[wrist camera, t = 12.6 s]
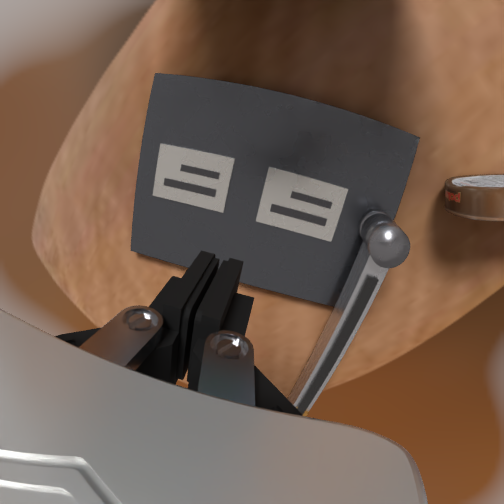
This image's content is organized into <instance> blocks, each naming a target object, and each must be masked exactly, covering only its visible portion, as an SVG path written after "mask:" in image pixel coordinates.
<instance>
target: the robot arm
mask: <svg viewBox="0 0 504 504" xmlns="http://www.w3.org/2000/svg"><path fill="white" fill-rule="evenodd" d="M219 261H220V259H218V258H215V254H213V253H209V252H205V251H201V252H200V253H199V254H198V256H197V257H196V259H195V260H194V261H193V263H192V264H191V266H190V267H189V268H188V270H187V271H186V273H185V274H184V275H183V277H182V278H178V277H175V276H172V277H171V278H170V280H169V281H168V282H167V284H166V285H165V286H164V288H163V289H162V290H161V292H160V293H159V294H158V295H157V297H156V298H155V299H154V301H153V302H152V303H151V305H150V306H149V307H147V306H140V305H139V306H131V307H128V308H125V309H124V310H122V311H121V312H120V313H118V314H117V315H116V316H115V317H114V318H113V319H111V320H110V321H109V322H108V323H107V324H105V325H104V326H103V327H102V328H96V329H91V330H86V331H79V332H74V333H67V334H62V335H58V336H52V335H51V334H49V333H47V332H45V331H42V330H40V329H39V328H37V327H34V326H33V325H30V324H29V323H27V322H25V321H23V320H21V319H19V318H17V317H15V316H13V315H11V314H9V313H7V312H5V311H4V310H2V309H0V504H428V502H427V497H426V493H425V489H424V485H423V481H422V478H421V476H420V473H419V470H418V467H417V465H416V463H415V461H414V459H413V458H412V456H411V455H410V454H409V453H408V451H406V450H405V449H404V448H403V447H402V446H401V445H399V444H397V443H396V442H394V441H392V440H390V439H389V438H386V437H384V436H381V435H379V434H377V433H374V432H372V431H368V430H365V429H362V428H359V427H355V426H351V425H346V424H342V423H337V422H332V421H326V420H320V419H315V418H310V417H305V416H302V414H301V413H300V412H299V410H298V409H297V408H296V407H295V406H294V405H293V404H292V403H291V402H290V401H289V400H288V399H287V398H286V397H285V396H284V395H283V394H282V393H281V392H280V391H279V390H278V389H277V388H276V387H275V386H274V385H273V384H272V383H271V382H270V381H269V380H268V379H267V378H266V377H265V376H264V375H263V374H262V373H261V372H260V371H259V369H258V368H257V367H256V366H255V365H254V349H253V345H252V343H251V342H250V340H249V339H247V338H246V337H245V333H246V329H247V325H248V321H249V317H250V313H251V309H252V305H253V301H254V297H250V296H246V295H242V294H238V293H237V289H238V285H239V280H240V276H241V271H242V267H243V261H241V260H237V259H233V258H229V260H228V261H226V260H223V262H222V264H221V265H220V267H219ZM218 267H219V269H218ZM187 370H188V375H187V381H188V382H189V384H188V388H184V387H182V386H178V385H175V384H176V382H177V380H178V379H181V380H183V379H184V377H185V374H186V372H187Z"/></svg>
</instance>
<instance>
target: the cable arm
mask: <svg viewBox="0 0 504 504" xmlns="http://www.w3.org/2000/svg"><path fill="white" fill-rule="evenodd" d="M361 237H362V239H363V243H362V245H361V247H360V250H359V252H358V255H357V257H356V260H355V262H354V264H353V267H352V269H351V271H350V274H349V276H348V278H347V280H346V283H345V285H344V287H343V289H342V292H341V294H340V296H339V298H338V300H337V303H336V305H335V307H334V309H333V311H332V313H331V315H330V318H329V320H328V322H327V324H326V326H325V328H324V330H323V332H322V334H321V336H320V338H319V340H318V342H317V344H316V346H315V348H314V350H313V352H312V354H311V356H310V358H309V360H308V362H307V364H306V366H305V367H304V369H303V371H302V373H301V375H300V377H299V379H298V380H297V382H296V384H295V386H294V388H293V390H292V391H291V393H290V395H289V397H288V400H289V401H290V402H291V403H292V404H293V405H294V406H295V407H296V408H297V409H298V410H299V412H300V413H301V414H302V416H305V417H306V416H307V415H308V413H309V410H310V408H311V407H312V405H313V404H314V402H315V401H316V399H317V398H318V396H319V395H320V393H321V392H322V390H323V389H324V387H325V385H326V384H327V382H328V381H329V379H330V377H331V376H332V374H333V372H334V371H335V369H336V367H337V366H338V364H339V362H340V361H341V359H342V357H343V356H344V354H345V352H346V350H347V349H348V347H349V345H350V343H351V342H352V340H353V338H354V336H355V334H356V333H357V331H358V329H359V327H360V325H361V323H362V321H363V320H364V318H365V316H366V314H367V312H368V310H369V308H370V306H371V304H372V302H373V300H374V298H375V296H376V294H377V292H378V290H379V288H380V286H381V284H382V282H383V280H384V278H385V275H386V273H387V271H388V269H389V268H394V267H396V266H398V265H400V264H401V263H403V262H404V260H405V259H406V258H407V256H408V254H409V250H410V242H409V239H408V237H407V235H406V234H405V233H404V232H403V231H402V230H401V229H400V227H399V226H398V225H397V224H396V223H395V222H394V221H393V220H392V219H391V218H390V217H389V216H388V215H386V214H382V213H377V214H373V215H371V216H369V217H368V218H367V219H366V220H365V221H364V223H363V225H362V228H361Z"/></svg>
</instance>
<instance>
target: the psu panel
mask: <svg viewBox="0 0 504 504" xmlns="http://www.w3.org/2000/svg"><path fill="white" fill-rule="evenodd" d="M419 139H420V138H419V137H417V136H415V135H412V134H410V133H408V132H405V131H403V130H400V129H398V128H395V127H392V126H390V125H387V124H384V123H382V122H379V121H376V120H373V119H371V118H368V117H365V116H362V115H359V114H356V113H353V112H350V111H347V110H344V109H340V108H337V107H334V106H331V105H327V104H324V103H320V102H317V101H313V100H309V99H306V98H302V97H298V96H294V95H290V94H286V93H281V92H277V91H273V90H268V89H263V88H259V87H254V86H249V85H243V84H238V83H232V82H226V81H220V80H213V79H206V78H199V77H191V76H182V75H172V74H161V73H155V76H154V81H153V85H152V90H151V95H150V100H149V105H148V110H147V116H146V121H145V127H144V133H143V139H142V146H141V152H140V159H139V167H138V175H137V183H136V192H135V201H134V212H133V223H132V237H131V251H134V252H137V253H140V254H144V255H147V256H150V257H154V258H157V259H160V260H164V261H167V262H171V263H174V264H177V265H181V266H184V267H188V268H189V267H190V266H191V264H192V263H193V261H194V260H195V259H196V257H197V256H198V254H199V253H200V252H201V251H205V252H209V253H213V254H215V258H218V259H220V261H219V267H220V265H221V264H222V262H223V260H226V261H228V260H229V258H233V259H237V260H241V261H243V267H242V271H241V276H240V280H239V282H241V283H245V284H249V285H252V286H256V287H260V288H263V289H267V290H271V291H275V292H278V293H282V294H286V295H290V296H294V297H298V298H301V299H305V300H309V301H313V302H317V303H321V304H325V305H329V306H333V307H335V305H336V303H337V300H338V298H339V296H340V294H341V292H342V289H343V287H344V285H345V283H346V280H347V278H348V276H349V274H350V271H351V269H352V267H353V264H354V262H355V260H356V257H357V255H358V252H359V250H360V247H361V245H362V243H363V239H362V237H361V228H362V225H363V223H364V221H365V220H366V219H367V218H368V217H369V216H371V215H373V214H377V213H382V214H386V215H388V216H389V217H390V218H391V219H392V220H393V221H394V218H395V215H396V212H397V210H398V207H399V204H400V201H401V198H402V195H403V192H404V189H405V186H406V183H407V180H408V176H409V173H410V170H411V167H412V163H413V160H414V157H415V153H416V150H417V146H418V142H419ZM219 267H218V269H219Z"/></svg>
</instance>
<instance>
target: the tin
mask: <svg viewBox="0 0 504 504" xmlns="http://www.w3.org/2000/svg"><path fill="white" fill-rule="evenodd" d="M444 208H445V210H446V211H447V212H448V213H451V214H453V215H456V216H460V217H463V218H468V219H474V220H483V221H504V174H486V175H469V176H458V177H452V178H449V179H447V180H446V181H445V205H444Z"/></svg>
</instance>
